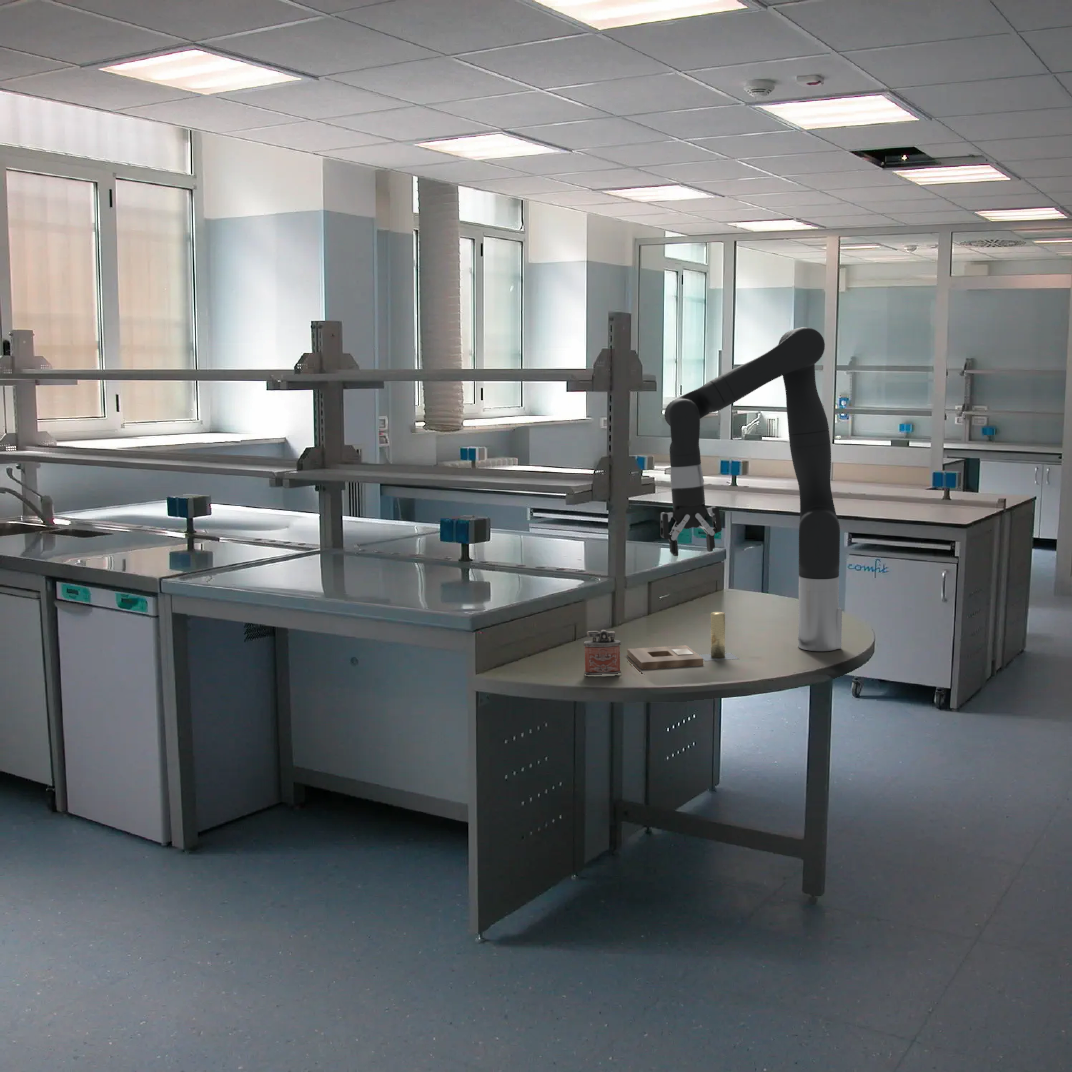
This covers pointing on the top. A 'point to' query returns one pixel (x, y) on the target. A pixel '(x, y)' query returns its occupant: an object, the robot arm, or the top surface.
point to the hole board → (664, 657)
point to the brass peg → (718, 635)
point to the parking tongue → (727, 657)
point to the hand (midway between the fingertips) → (692, 553)
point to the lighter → (602, 653)
